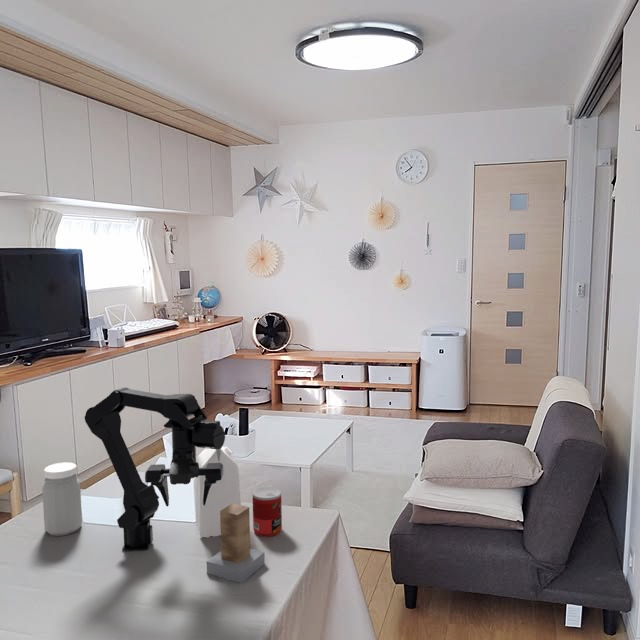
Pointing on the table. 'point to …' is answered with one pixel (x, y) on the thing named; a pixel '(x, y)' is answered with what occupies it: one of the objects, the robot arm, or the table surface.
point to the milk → (216, 491)
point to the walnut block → (235, 533)
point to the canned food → (267, 512)
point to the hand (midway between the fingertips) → (186, 505)
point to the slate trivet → (236, 566)
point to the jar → (61, 499)
